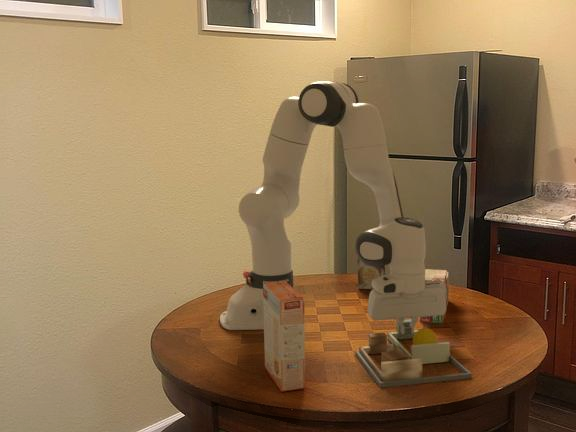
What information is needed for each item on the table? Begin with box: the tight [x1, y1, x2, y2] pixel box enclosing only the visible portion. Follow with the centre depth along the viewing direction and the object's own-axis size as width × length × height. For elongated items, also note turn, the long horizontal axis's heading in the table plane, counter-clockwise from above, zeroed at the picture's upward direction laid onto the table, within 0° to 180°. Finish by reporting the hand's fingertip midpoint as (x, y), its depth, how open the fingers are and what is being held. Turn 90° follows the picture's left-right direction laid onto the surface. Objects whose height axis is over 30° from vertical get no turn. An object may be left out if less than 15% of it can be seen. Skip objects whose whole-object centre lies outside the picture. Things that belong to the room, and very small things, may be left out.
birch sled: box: [358, 332, 423, 382], centre depth 148 cm, size 9×18×4 cm, turn 11°
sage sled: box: [387, 318, 451, 365], centre depth 157 cm, size 9×18×4 cm, turn 11°
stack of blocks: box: [419, 268, 450, 324], centre depth 185 cm, size 21×6×12 cm, turn 162°
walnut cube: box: [380, 350, 408, 363], centre depth 145 cm, size 4×4×4 cm
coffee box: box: [357, 257, 386, 290], centre depth 210 cm, size 9×6×16 cm
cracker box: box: [263, 281, 306, 393], centre depth 141 cm, size 14×6×21 cm, turn 17°
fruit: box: [412, 326, 437, 345], centre depth 152 cm, size 6×6×8 cm
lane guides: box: [354, 350, 473, 388], centre depth 148 cm, size 21×19×1 cm
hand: (406, 333), depth 163 cm, fingers closed, pressing on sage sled
